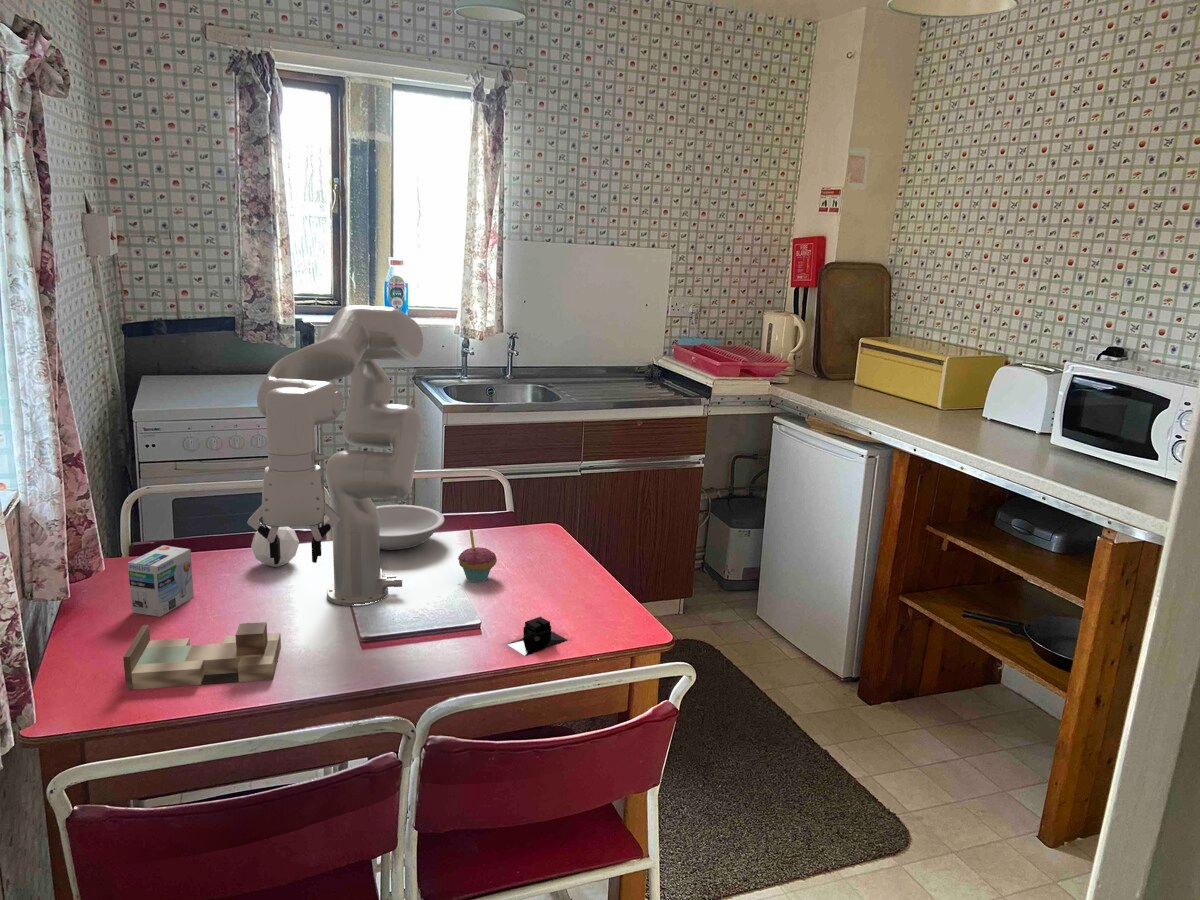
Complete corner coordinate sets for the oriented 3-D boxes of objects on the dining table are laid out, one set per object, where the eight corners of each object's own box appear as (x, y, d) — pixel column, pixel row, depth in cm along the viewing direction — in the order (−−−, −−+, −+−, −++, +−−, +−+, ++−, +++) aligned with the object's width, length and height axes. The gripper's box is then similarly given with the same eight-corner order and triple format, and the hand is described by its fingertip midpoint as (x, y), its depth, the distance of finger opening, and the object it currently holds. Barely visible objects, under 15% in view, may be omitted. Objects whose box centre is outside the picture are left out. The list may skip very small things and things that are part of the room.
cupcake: (451, 581, 195) (451, 530, 192) (470, 568, 202) (471, 519, 199) (484, 588, 192) (485, 537, 189) (503, 575, 199) (504, 525, 196)
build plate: (522, 662, 161) (522, 638, 160) (497, 647, 166) (497, 623, 165) (575, 642, 170) (576, 619, 169) (550, 628, 175) (550, 606, 174)
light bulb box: (160, 618, 171) (156, 566, 168) (130, 613, 172) (125, 562, 169) (195, 596, 181) (192, 548, 178) (167, 592, 182) (163, 544, 180)
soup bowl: (417, 522, 232) (416, 499, 230) (462, 550, 214) (462, 524, 212) (329, 538, 217) (328, 513, 216) (370, 569, 199) (369, 542, 197)
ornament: (252, 574, 193) (252, 554, 206) (301, 569, 196) (298, 550, 210) (249, 531, 191) (249, 514, 204) (299, 527, 194) (296, 511, 208)
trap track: (281, 647, 161) (279, 617, 160) (272, 679, 150) (271, 647, 148) (145, 656, 156) (142, 625, 154) (126, 690, 144) (123, 657, 143)
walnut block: (267, 642, 156) (266, 622, 155) (264, 654, 152) (263, 633, 151) (240, 644, 155) (239, 623, 154) (236, 656, 151) (235, 634, 150)
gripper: (345, 454, 153) (348, 551, 157) (241, 455, 149) (247, 555, 153) (343, 465, 146) (346, 566, 150) (234, 467, 142) (240, 571, 146)
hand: (296, 559), depth 152 cm, fingers open, 5 cm apart
